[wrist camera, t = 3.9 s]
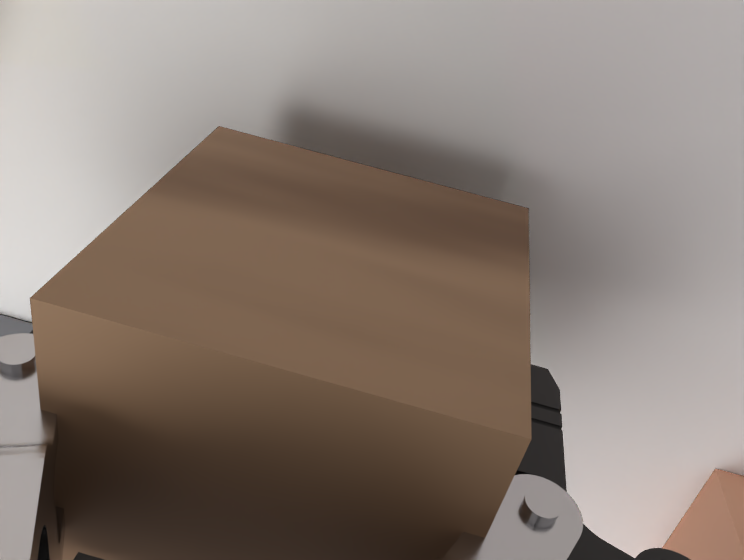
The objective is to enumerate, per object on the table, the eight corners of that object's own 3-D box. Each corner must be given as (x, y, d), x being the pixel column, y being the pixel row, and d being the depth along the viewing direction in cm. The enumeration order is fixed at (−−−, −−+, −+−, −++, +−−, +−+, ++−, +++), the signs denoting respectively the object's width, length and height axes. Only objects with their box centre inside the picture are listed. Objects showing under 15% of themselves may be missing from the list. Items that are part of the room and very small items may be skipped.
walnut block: (218, 125, 13) (29, 298, 8) (528, 208, 13) (531, 439, 8) (200, 363, 16) (57, 590, 11) (446, 432, 16) (410, 697, 11)
